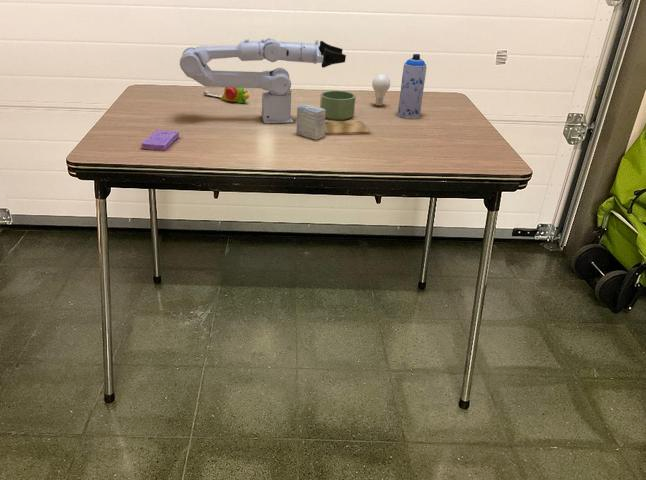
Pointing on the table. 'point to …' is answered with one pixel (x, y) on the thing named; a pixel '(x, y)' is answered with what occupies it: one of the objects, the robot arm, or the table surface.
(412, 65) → the aerosol can
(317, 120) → the medicine box
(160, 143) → the sponge
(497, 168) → the table surface
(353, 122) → the board
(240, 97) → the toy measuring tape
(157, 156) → the table surface
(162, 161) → the table surface
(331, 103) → the pot
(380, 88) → the lightbulb
